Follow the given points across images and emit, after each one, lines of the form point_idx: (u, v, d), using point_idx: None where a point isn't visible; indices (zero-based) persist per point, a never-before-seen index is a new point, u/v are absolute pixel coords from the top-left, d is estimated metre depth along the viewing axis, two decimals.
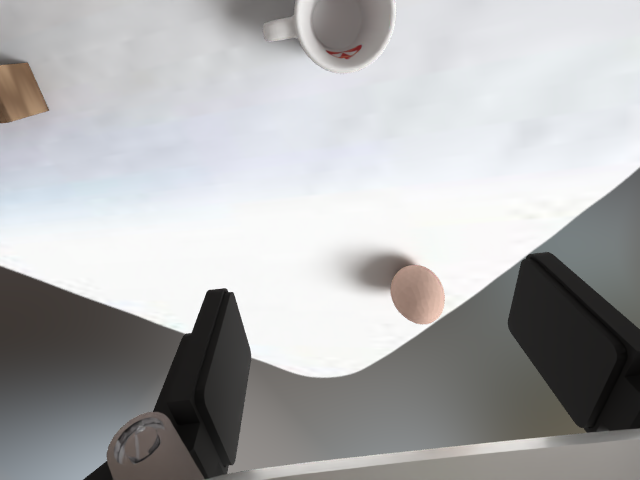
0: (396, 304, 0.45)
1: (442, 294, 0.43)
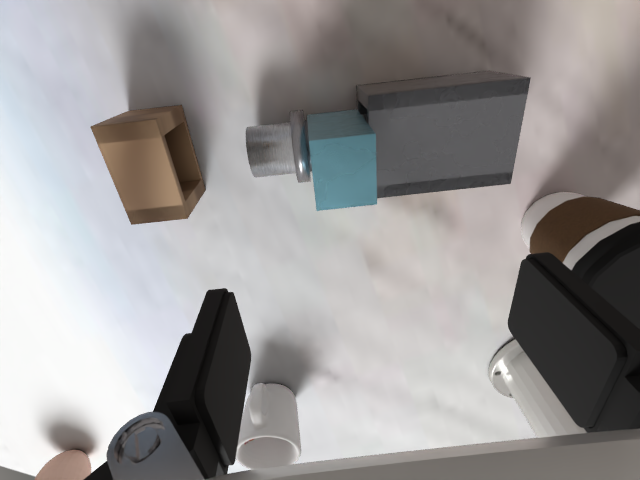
0: None
1: None
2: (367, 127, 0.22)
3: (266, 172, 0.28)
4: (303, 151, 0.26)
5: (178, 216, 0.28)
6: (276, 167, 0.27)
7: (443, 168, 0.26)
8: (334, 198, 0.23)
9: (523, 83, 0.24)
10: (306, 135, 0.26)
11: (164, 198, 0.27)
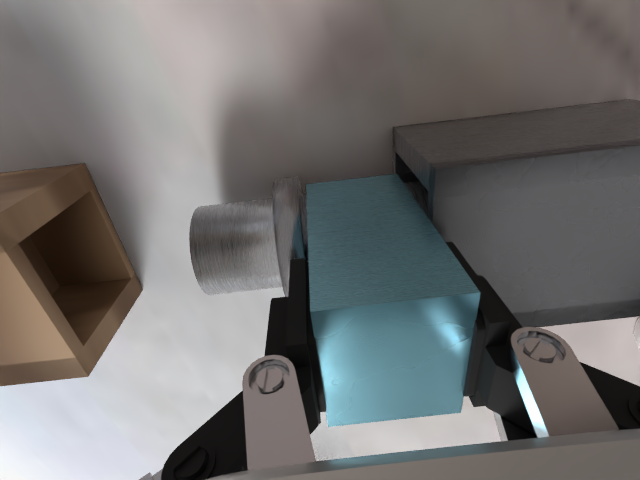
0: None
1: None
2: (444, 253, 0.10)
3: (232, 291, 0.15)
4: None
5: (70, 374, 0.15)
6: (249, 285, 0.15)
7: (566, 292, 0.14)
8: (368, 407, 0.10)
9: None
10: (305, 231, 0.14)
11: (38, 348, 0.14)
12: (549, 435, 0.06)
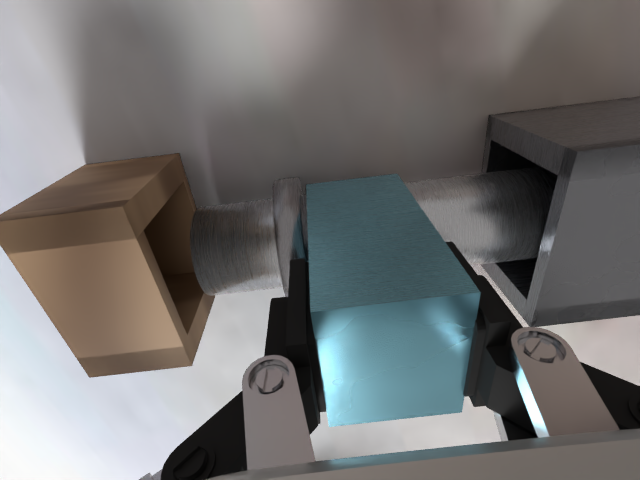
0: None
1: None
2: (445, 253, 0.10)
3: (233, 291, 0.15)
4: None
5: (175, 363, 0.15)
6: (249, 285, 0.15)
7: None
8: (369, 407, 0.10)
9: None
10: (305, 231, 0.14)
11: (148, 337, 0.14)
12: (549, 435, 0.06)
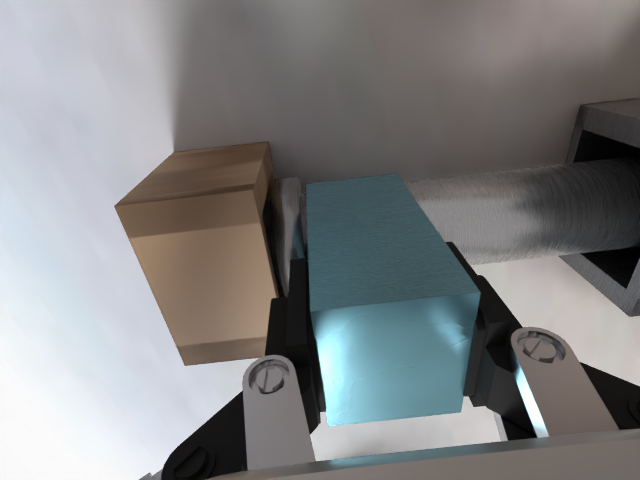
0: None
1: None
2: (444, 253, 0.10)
3: None
4: None
5: None
6: None
7: None
8: (368, 407, 0.10)
9: None
10: (304, 231, 0.14)
11: (252, 324, 0.14)
12: (549, 435, 0.06)
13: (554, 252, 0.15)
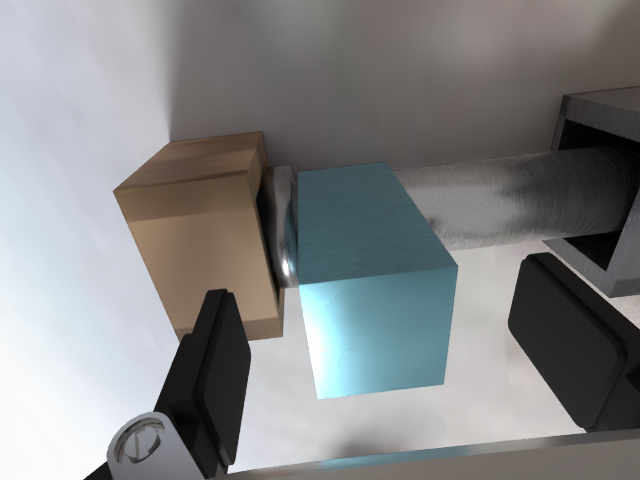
0: None
1: None
2: (427, 232, 0.10)
3: None
4: (290, 251, 0.14)
5: (267, 334, 0.15)
6: None
7: None
8: (355, 379, 0.11)
9: None
10: (296, 217, 0.14)
11: (247, 307, 0.15)
12: None
13: (536, 237, 0.15)
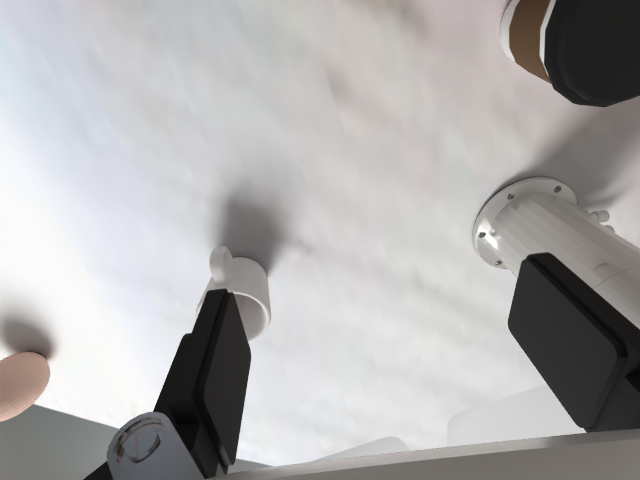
0: None
1: (24, 409, 0.44)
2: None
3: None
4: None
5: None
6: None
7: None
8: None
9: None
10: None
11: None
12: None
13: None
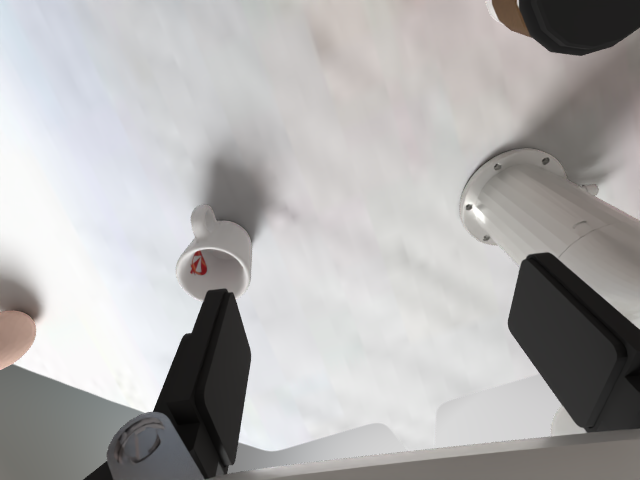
0: None
1: (8, 365, 0.45)
2: None
3: None
4: None
5: None
6: None
7: None
8: None
9: None
10: None
11: None
12: None
13: None
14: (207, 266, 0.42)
